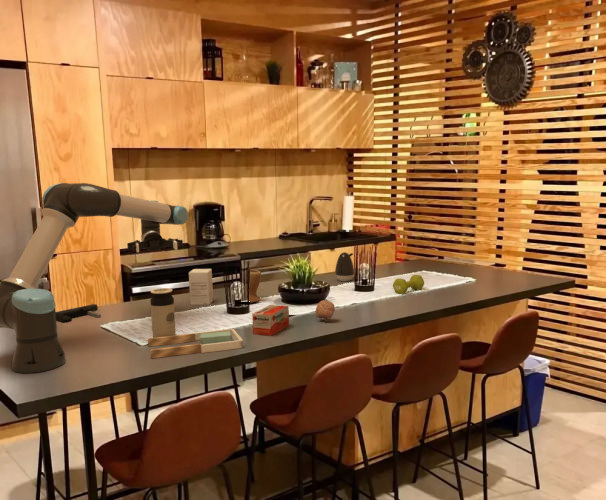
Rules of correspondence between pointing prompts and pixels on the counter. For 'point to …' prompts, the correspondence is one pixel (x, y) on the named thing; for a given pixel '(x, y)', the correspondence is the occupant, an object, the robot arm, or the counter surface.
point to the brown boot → (254, 285)
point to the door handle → (77, 313)
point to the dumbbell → (408, 284)
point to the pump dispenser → (344, 267)
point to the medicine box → (270, 320)
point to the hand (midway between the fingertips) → (157, 247)
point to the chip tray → (222, 345)
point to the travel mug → (162, 313)
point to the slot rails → (173, 350)
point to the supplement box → (200, 286)
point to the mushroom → (325, 310)
